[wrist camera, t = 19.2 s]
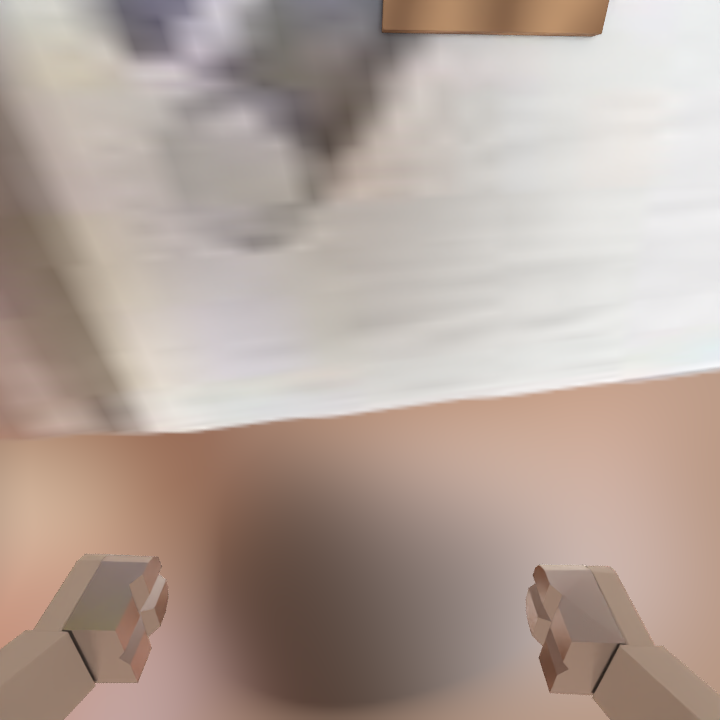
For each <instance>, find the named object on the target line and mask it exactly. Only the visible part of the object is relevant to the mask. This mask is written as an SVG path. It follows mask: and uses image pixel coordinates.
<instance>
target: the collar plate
mask: <svg viewBox="0 0 720 720" xmlns="http://www.w3.org/2000/svg"><path fill="white" fill-rule="evenodd" d="M608 3H609V0H383V16H382V33H435V34H488V35H540V36H595V35H598V34H602V30H603V25H604V21H605V16H606V12H607V8H608Z"/></svg>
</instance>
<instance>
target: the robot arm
mask: <svg viewBox="0 0 720 720" xmlns="http://www.w3.org/2000/svg"><path fill="white" fill-rule="evenodd" d="M161 568H162V565H161V562H160V560H159V557H155V556H154V557H153V556H131V555H110V554H85V555H84V556H82V557H81V558H80V559H79V560H78V561H77V562H76V563H75V565H74V567H73V568H72V570H71V571H70V573H69V574H68V576H67V578H66V579H65V581H64V582H63V584H62V585H61V587H60V589H59V590H58V592H57V593H56V595H55V596H54V598H53V600H52V601H51V603H50V604H49V606H48V607H47V609H46V611H45V612H44V614H43V615H42V617H41V618H40V620H39V622H38V623H37V625H36V626H35V628H34V629H33V630H26V631H24V632H23V633H21V634H20V635H19V636H17V637H16V638H15V639H13V640H12V641H11V642H9V643H8V644H7V645H5V646H4V647H3V648H1V649H0V720H64V719H65V718H66V717H67V716H68V714H70V712H71V711H72V710H73V709H74V708H75V707H76V706H77V705H78V704H79V703H80V702H81V701H82V700H83V699H84V698H85V697H86V695H87V694H88V693H89V692H90V691H91V690H92V689H93V688H94V687H95V683H138V681H139V678H140V676H141V674H142V671H143V669H144V666H145V663H146V661H147V659H148V656H149V654H150V651H151V649H152V647H151V644H150V640H149V636H150V635H151V634H152V633H153V632H154V631H156V630H157V629H158V628H159V627H160V626H161V623H162V620H163V618H164V615H165V613H166V607H167V602H168V585H167V581H166V579H164V578H163V577H162V576H161V575H159V572H160V570H161ZM533 577H534V580H535V584H534V585H533V586H531V587H530V588H529V589H528V593H527V596H526V614H527V619H528V624H529V627H530V631H531V634H532V636H533V637H534V638H535V639H536V640H537V641H538V642H539V643H540V644H541V645H542V646H543V647H542V650H541V653H540V656H539V660H540V663H541V666H542V670H543V673H544V676H545V679H546V682H547V685H548V689H549V692H550V693H560V694H579V695H593V699H594V701H595V702H596V703H597V704H598V705H599V707H600V708H601V709H602V710H603V711H604V713H605V714H606V715H607V716H608V718H609V719H610V720H720V694H718V693H717V692H716V691H715V690H714V689H712V688H711V687H710V686H709V685H708V684H707V683H705V682H704V681H703V680H702V679H701V678H700V677H699V676H697V675H696V674H695V673H694V672H693V671H692V670H690V669H689V668H688V667H687V666H686V665H685V664H683V663H682V662H681V661H680V660H679V659H678V658H676V657H675V656H674V655H673V654H672V653H671V652H669V651H668V650H667V649H666V648H665V647H663V646H656V645H655V644H654V642H653V640H652V638H651V637H650V635H649V633H648V631H647V629H646V627H645V625H644V623H643V621H642V620H641V618H640V616H639V614H638V612H637V610H636V608H635V607H634V605H633V603H632V601H631V599H630V597H629V596H628V594H627V592H626V590H625V588H624V586H623V584H622V582H621V581H620V579H619V577H618V575H617V573H616V571H615V570H614V569H613V568H611V567H609V566H584V565H538V566H537V567H536V568H535V570H534V573H533Z"/></svg>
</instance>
